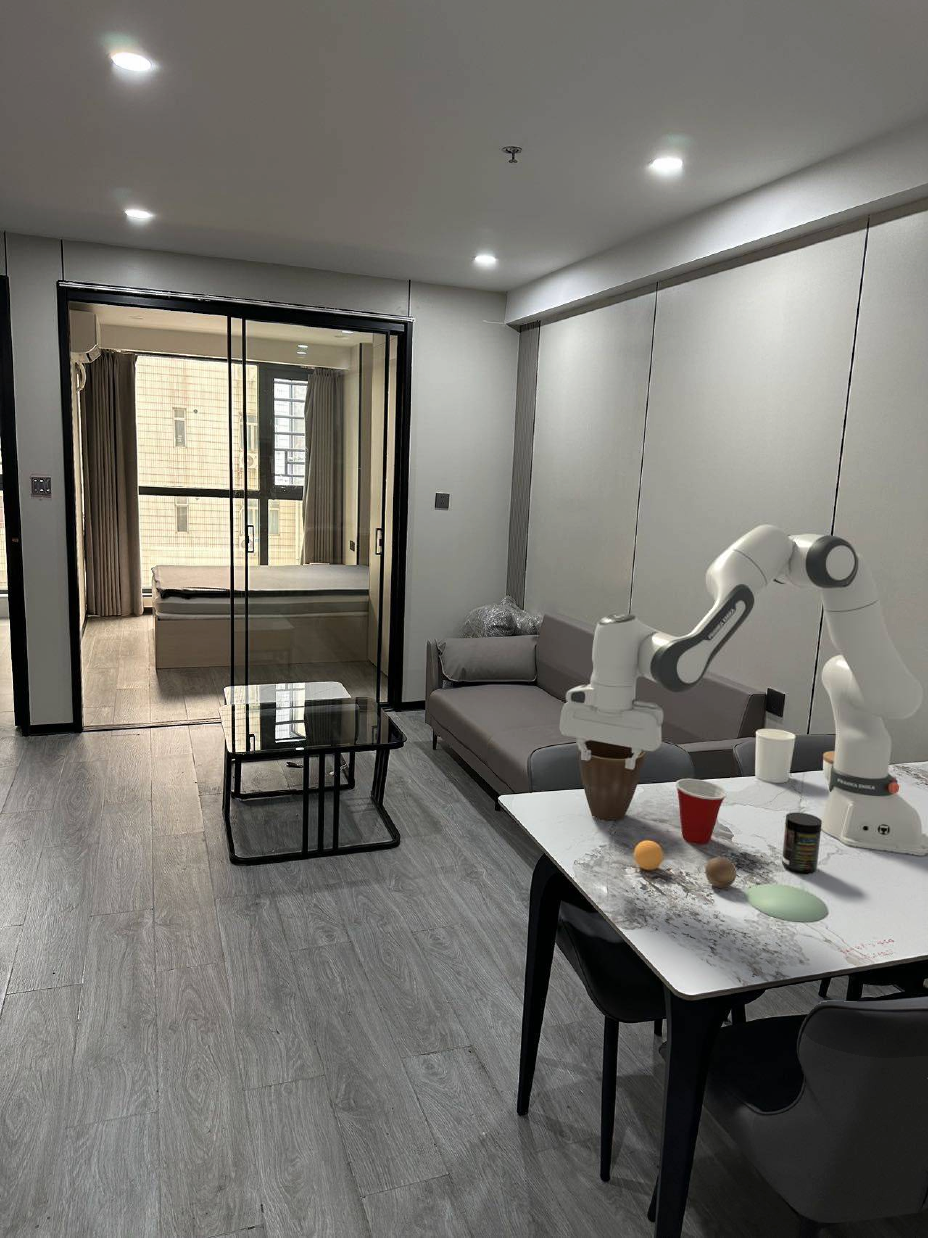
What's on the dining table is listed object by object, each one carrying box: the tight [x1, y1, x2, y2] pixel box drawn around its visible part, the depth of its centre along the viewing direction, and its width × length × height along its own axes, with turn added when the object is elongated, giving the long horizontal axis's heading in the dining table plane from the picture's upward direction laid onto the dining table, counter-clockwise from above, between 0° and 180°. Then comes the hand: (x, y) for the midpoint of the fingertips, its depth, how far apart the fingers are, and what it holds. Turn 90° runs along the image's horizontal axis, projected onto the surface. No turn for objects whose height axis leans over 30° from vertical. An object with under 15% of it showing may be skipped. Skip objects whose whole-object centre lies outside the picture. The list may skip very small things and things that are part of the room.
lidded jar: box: [822, 750, 835, 783], centre depth 221 cm, size 11×11×9 cm
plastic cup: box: [675, 778, 728, 845], centre depth 183 cm, size 11×11×12 cm
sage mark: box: [745, 883, 828, 923], centre depth 157 cm, size 14×14×1 cm
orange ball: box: [633, 839, 664, 871], centre depth 169 cm, size 6×6×6 cm
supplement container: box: [781, 812, 822, 875], centre depth 171 cm, size 7×7×10 cm
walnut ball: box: [704, 856, 737, 889], centre depth 162 cm, size 6×6×6 cm
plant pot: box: [577, 739, 646, 822], centre depth 194 cm, size 15×15×16 cm
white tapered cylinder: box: [754, 728, 796, 784], centre depth 225 cm, size 10×10×12 cm
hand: (607, 763), depth 170 cm, fingers open, 8 cm apart
